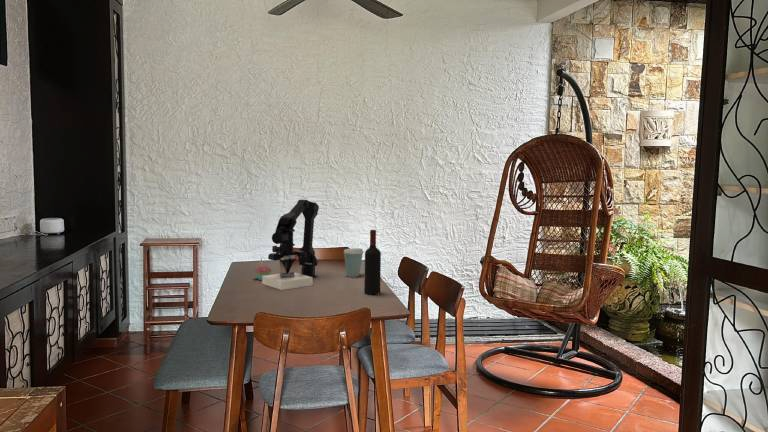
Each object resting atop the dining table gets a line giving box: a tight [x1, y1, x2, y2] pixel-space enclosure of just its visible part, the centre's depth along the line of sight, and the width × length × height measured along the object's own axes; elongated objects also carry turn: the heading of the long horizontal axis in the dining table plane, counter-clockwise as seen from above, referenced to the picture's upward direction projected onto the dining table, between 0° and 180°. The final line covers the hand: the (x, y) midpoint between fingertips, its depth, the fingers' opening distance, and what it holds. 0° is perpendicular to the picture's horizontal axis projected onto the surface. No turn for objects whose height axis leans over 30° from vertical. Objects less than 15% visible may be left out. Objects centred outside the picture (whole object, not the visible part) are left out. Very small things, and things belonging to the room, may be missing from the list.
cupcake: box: [254, 257, 272, 281], centre depth 325 cm, size 9×8×12 cm
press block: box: [261, 271, 314, 291], centre depth 313 cm, size 18×18×4 cm
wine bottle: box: [363, 229, 382, 295], centre depth 295 cm, size 8×8×30 cm
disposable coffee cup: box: [343, 247, 364, 278], centre depth 337 cm, size 11×11×15 cm
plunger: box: [279, 270, 295, 278], centre depth 313 cm, size 7×7×6 cm
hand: (287, 272), depth 313 cm, fingers closed, pressing on plunger
